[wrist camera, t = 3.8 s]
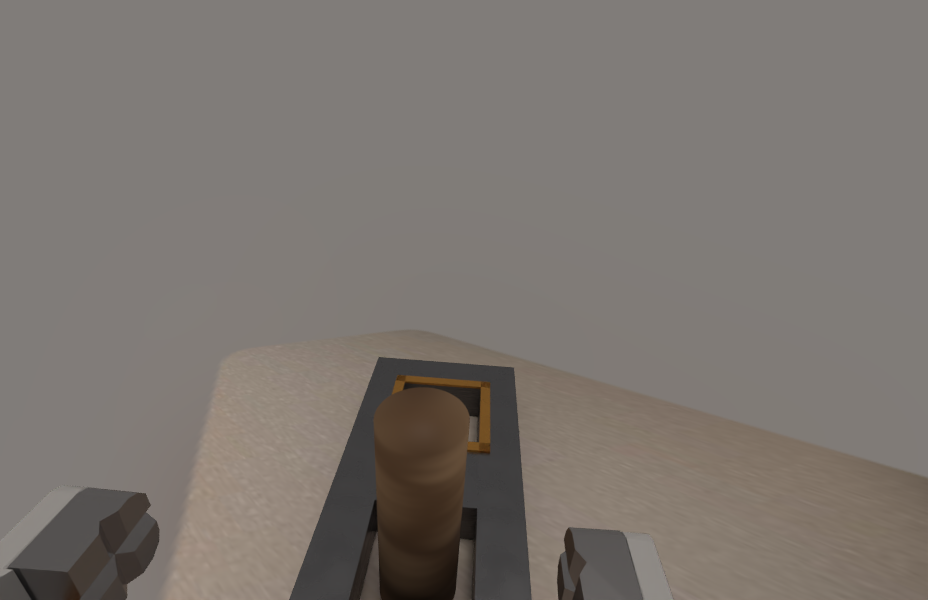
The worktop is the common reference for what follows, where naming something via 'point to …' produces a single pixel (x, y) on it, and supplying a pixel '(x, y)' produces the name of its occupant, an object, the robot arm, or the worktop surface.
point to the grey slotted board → (485, 489)
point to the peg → (420, 492)
